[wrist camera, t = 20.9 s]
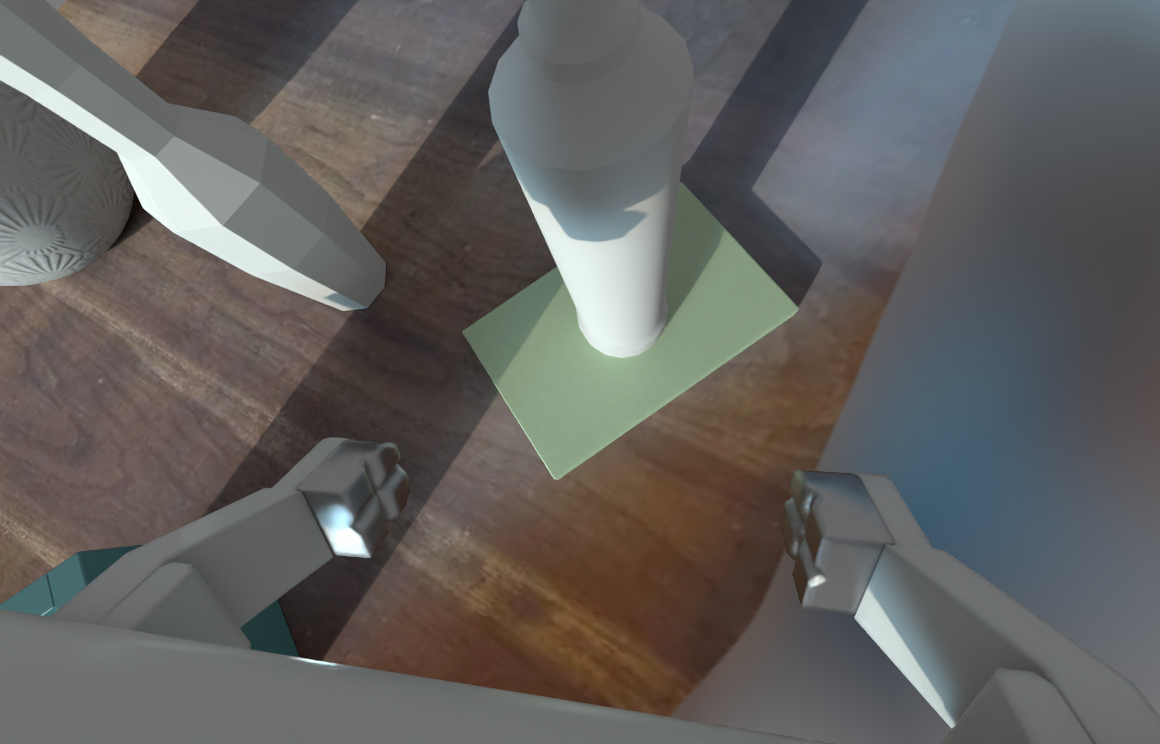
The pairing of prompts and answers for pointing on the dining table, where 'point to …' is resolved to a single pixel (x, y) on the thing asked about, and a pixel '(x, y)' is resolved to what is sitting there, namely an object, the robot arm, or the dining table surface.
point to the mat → (633, 384)
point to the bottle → (599, 154)
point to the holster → (87, 565)
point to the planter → (54, 193)
